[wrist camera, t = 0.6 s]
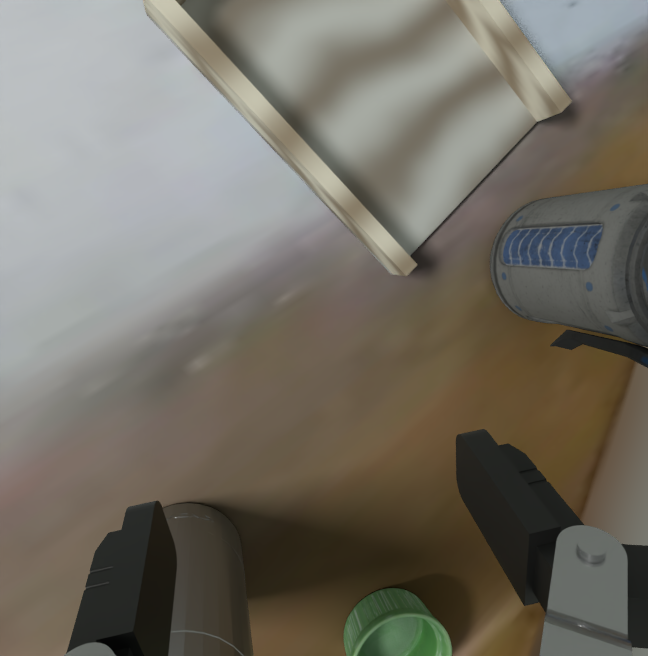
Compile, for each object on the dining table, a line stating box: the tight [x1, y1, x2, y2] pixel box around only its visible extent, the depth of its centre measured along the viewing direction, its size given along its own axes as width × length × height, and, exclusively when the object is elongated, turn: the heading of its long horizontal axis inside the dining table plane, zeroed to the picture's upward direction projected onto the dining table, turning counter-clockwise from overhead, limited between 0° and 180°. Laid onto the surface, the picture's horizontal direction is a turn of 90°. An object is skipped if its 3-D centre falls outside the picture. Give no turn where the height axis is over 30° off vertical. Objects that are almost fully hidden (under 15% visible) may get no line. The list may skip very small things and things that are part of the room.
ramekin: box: [344, 588, 452, 656], centre depth 45 cm, size 9×9×4 cm
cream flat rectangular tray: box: [143, 0, 572, 276], centre depth 37 cm, size 25×18×4 cm
